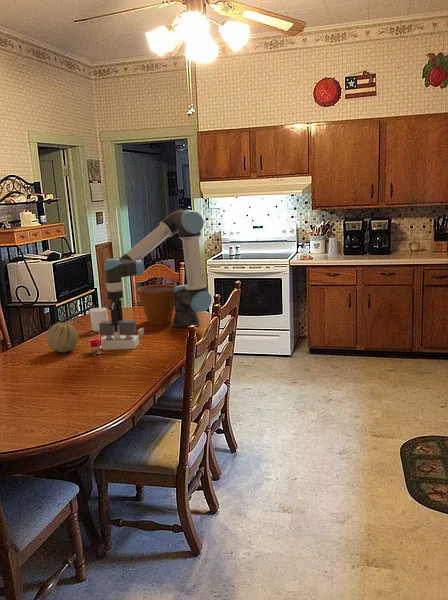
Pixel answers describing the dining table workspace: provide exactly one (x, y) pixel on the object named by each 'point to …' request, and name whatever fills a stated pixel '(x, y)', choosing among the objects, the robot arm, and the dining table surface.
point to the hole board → (120, 342)
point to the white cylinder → (98, 317)
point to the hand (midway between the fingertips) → (118, 336)
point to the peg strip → (124, 327)
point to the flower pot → (157, 303)
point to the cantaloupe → (62, 337)
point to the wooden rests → (139, 332)
